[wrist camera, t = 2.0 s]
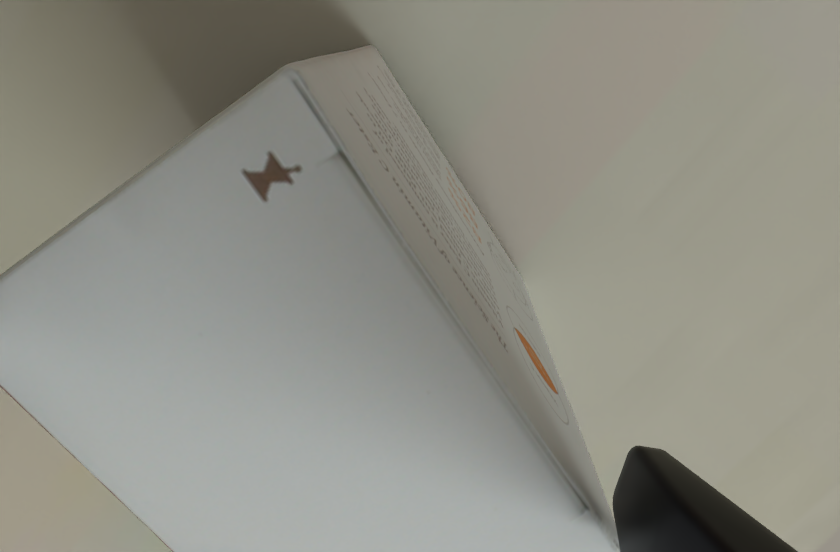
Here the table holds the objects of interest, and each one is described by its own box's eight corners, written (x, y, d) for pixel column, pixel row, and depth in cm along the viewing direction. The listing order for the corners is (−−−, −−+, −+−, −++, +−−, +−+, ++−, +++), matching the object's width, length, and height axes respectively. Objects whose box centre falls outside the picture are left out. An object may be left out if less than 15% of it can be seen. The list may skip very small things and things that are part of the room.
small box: (211, 154, 17) (-94, 316, 7) (376, 38, 16) (279, 41, 6) (373, 367, 19) (308, 707, 10) (527, 280, 18) (635, 568, 8)
